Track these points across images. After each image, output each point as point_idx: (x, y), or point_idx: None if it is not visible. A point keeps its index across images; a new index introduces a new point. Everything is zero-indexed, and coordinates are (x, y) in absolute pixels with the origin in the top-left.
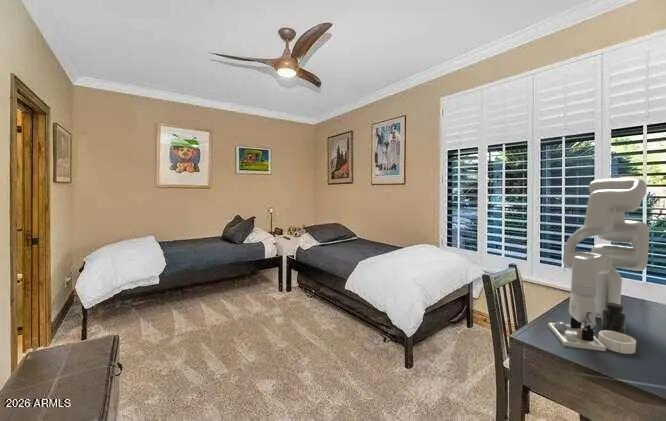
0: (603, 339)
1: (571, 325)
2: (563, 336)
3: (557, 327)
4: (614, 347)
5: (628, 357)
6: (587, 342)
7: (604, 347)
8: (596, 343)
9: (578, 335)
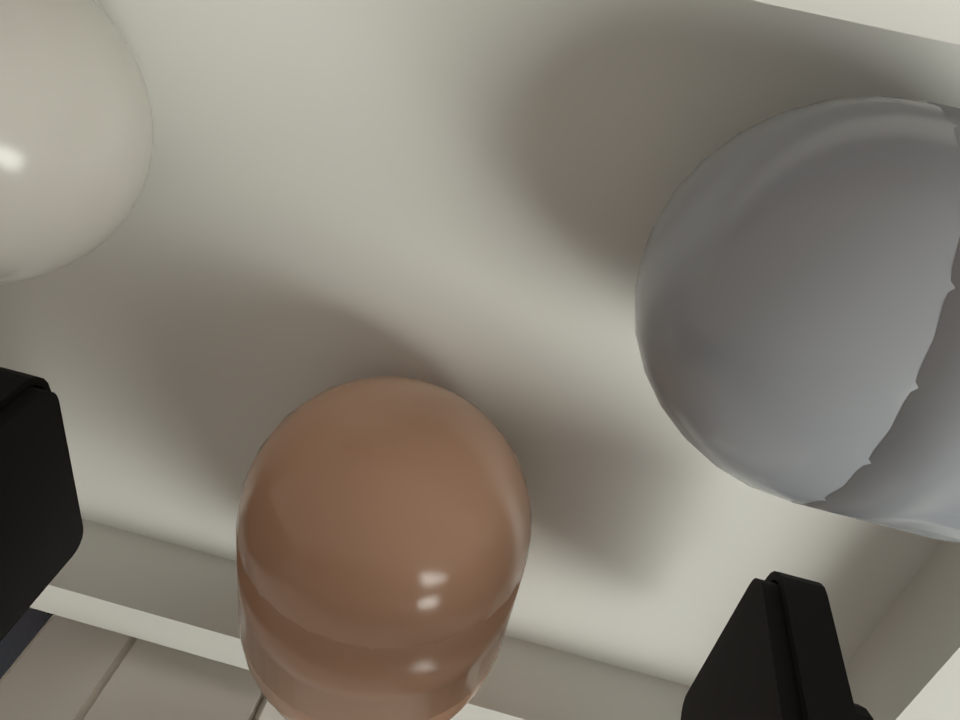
0: (53, 713)
1: (784, 643)
2: (450, 88)
3: (814, 111)
4: (2, 676)
5: (5, 653)
6: (227, 461)
7: None
8: (186, 565)
9: (268, 438)
